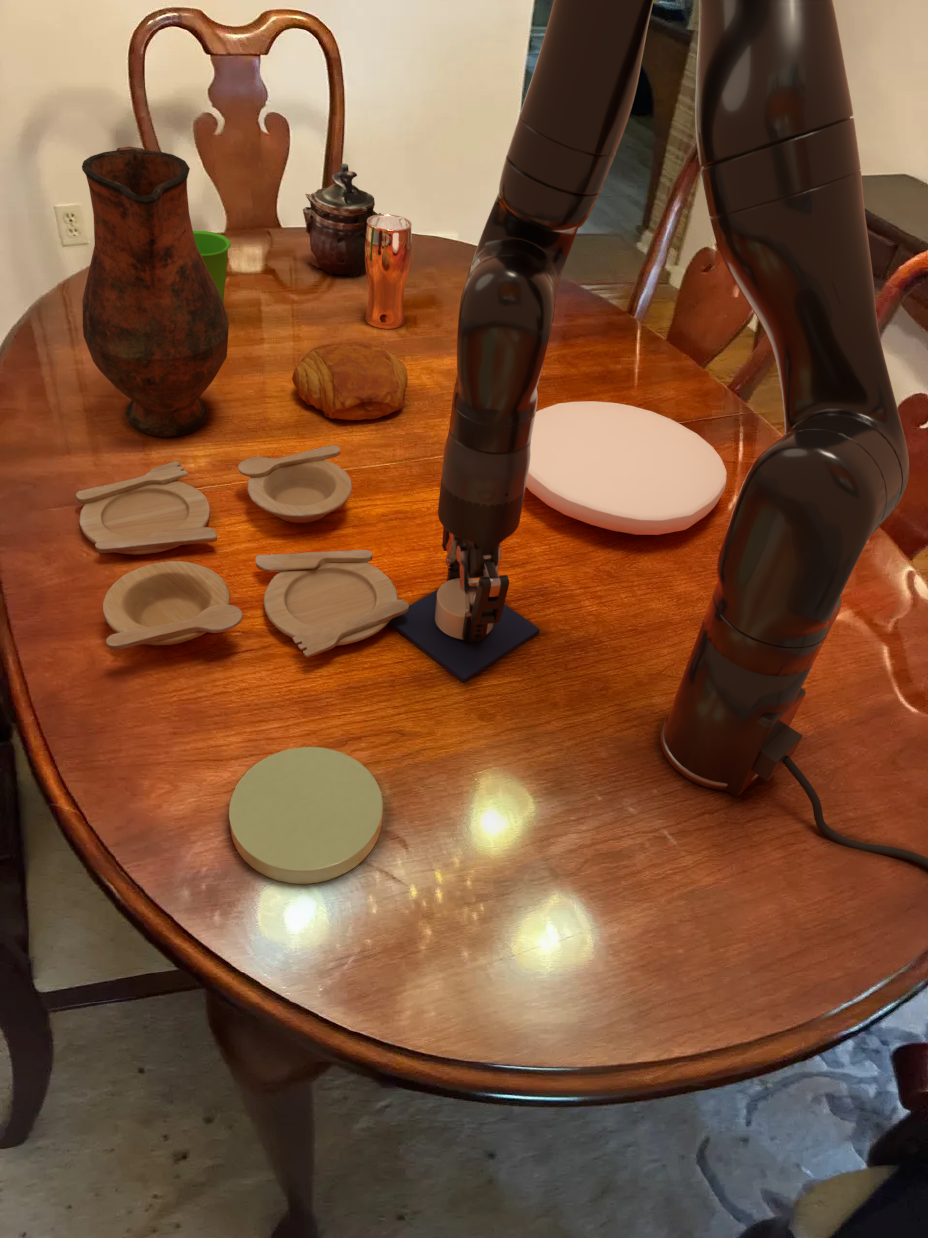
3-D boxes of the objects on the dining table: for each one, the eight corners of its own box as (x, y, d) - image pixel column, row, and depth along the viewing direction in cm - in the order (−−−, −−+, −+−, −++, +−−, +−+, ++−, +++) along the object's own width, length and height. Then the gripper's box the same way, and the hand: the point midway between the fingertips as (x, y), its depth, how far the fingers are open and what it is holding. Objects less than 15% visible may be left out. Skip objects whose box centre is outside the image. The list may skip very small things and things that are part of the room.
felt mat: (539, 633, 94) (540, 629, 93) (463, 683, 87) (464, 679, 87) (462, 579, 99) (463, 574, 98) (385, 622, 93) (386, 618, 92)
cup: (162, 320, 137) (152, 245, 129) (192, 298, 143) (185, 225, 136) (217, 333, 135) (211, 258, 128) (245, 310, 142) (241, 238, 135)
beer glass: (356, 312, 145) (358, 214, 135) (397, 309, 148) (402, 212, 138) (371, 332, 141) (375, 231, 131) (413, 327, 143) (420, 229, 133)
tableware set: (76, 488, 104) (68, 457, 101) (329, 456, 113) (329, 427, 111) (105, 709, 80) (97, 676, 77) (423, 645, 90) (426, 614, 87)
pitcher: (103, 457, 109) (53, 190, 89) (93, 372, 124) (49, 126, 104) (245, 444, 114) (228, 189, 94) (220, 364, 129) (200, 128, 109)
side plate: (412, 824, 75) (413, 811, 74) (293, 914, 68) (292, 900, 67) (319, 738, 81) (318, 724, 79) (200, 812, 74) (198, 798, 72)
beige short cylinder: (506, 622, 93) (510, 600, 91) (464, 648, 89) (467, 626, 87) (464, 591, 96) (467, 569, 94) (422, 616, 92) (424, 593, 90)
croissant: (292, 388, 130) (282, 335, 124) (400, 370, 132) (395, 317, 127) (306, 440, 119) (296, 384, 114) (423, 419, 122) (419, 363, 116)
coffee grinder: (317, 291, 150) (317, 173, 138) (298, 255, 160) (297, 143, 148) (392, 288, 154) (398, 173, 142) (370, 254, 164) (373, 144, 152)
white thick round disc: (531, 377, 125) (728, 416, 122) (523, 422, 128) (714, 460, 126) (499, 465, 102) (740, 514, 100) (490, 516, 106) (722, 564, 104)
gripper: (550, 522, 77) (521, 664, 88) (501, 432, 87) (480, 569, 98) (464, 528, 75) (445, 673, 86) (424, 435, 85) (412, 575, 97)
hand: (464, 617), depth 92 cm, fingers closed on beige short cylinder, 6 cm apart
